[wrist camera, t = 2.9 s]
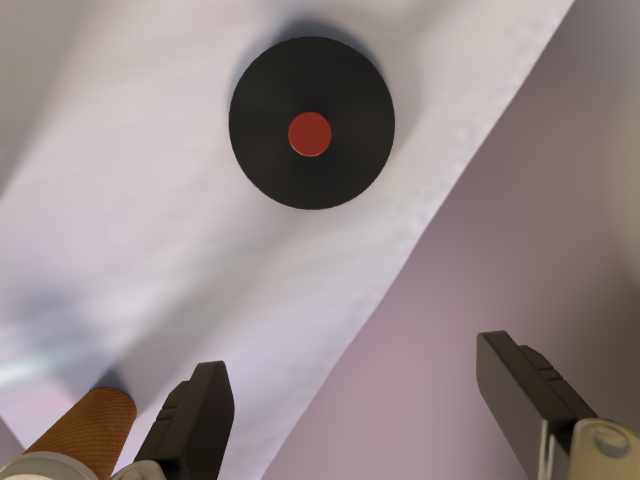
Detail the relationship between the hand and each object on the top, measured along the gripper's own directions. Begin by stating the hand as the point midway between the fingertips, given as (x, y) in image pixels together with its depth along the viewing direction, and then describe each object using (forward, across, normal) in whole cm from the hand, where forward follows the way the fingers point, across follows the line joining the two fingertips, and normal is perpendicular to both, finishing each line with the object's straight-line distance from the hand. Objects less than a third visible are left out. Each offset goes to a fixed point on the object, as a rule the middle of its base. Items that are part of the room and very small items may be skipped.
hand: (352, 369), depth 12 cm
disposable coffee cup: (+26, -29, -22) cm, 45 cm away
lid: (+25, -1, +6) cm, 26 cm away
